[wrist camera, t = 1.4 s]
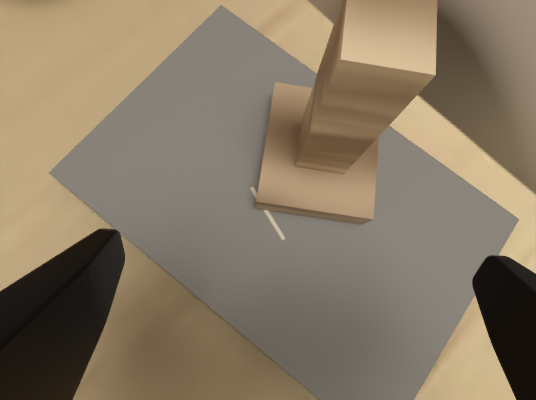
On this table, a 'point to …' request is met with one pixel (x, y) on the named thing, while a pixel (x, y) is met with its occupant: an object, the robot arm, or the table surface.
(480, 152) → the table surface
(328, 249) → the board
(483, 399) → the table surface
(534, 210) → the table surface
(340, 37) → the wooden block tower
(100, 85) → the table surface
